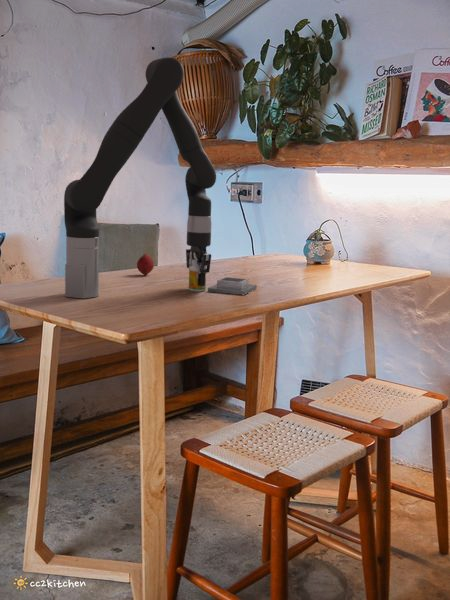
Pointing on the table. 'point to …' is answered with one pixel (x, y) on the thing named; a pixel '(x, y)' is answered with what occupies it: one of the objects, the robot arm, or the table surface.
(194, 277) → the supplement bottle
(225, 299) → the table surface
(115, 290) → the table surface
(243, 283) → the plate
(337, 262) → the table surface
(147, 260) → the red fruit
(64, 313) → the table surface
